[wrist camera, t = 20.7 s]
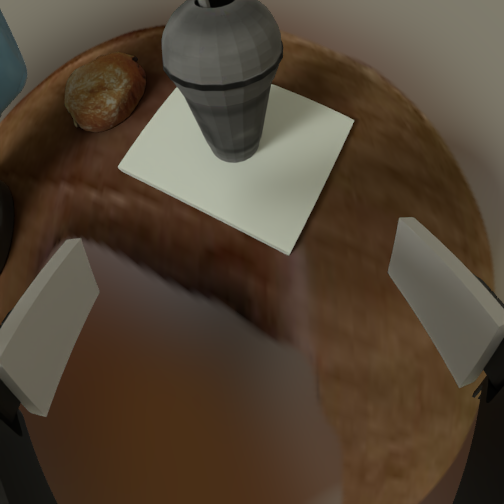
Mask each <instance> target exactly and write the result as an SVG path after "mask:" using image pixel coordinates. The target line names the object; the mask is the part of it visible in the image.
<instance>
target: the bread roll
mask: <svg viewBox="0 0 504 504" xmlns="http://www.w3.org/2000/svg"><path fill="white" fill-rule="evenodd" d="M137 60H138V58H137V57H136V56H131V55H127V54H125V53H120V52H117V53H110V54H108V55H105V56H100V57H98V58H97V59H96V60H95V61H93V62H91V63H89V64H86V65H84V66H82V67H80V68H78V69H76V70H75V71H74V72H73V73H72V74H71V75H70V77H69V79H68V81H67V84H66V88H65V104H64V106H65V107H66V108H67V110H68V112H69V113H70V114H71V115H72V117H73V120H74V125H75V126H76V127H79V126H80V127H81V128H82V129H84V130H86V131H92V132H102V131H106V130H109V129H111V128H113V127H115V126H116V125H118V124H119V123H121V122H123V121H124V120H125V119H126V118H127V117H129V116H130V114H131V113H132V111H133V110H134V109H135V106H136V105H137V104H138V103H139V101H140V99H141V98H142V96H143V94H144V92H145V86H146V79H145V77H146V74H145V70H144V69H143V68H142V66H140V65H139V64H138V63H137Z"/></svg>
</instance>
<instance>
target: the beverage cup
mask: <svg viewBox="0 0 504 504" xmlns="http://www.w3.org/2000/svg"><path fill="white" fill-rule="evenodd" d="M282 58H283V44H282V41H281V34H280V30H279V27H278V25H277V23H276V21H275V19H274V17H273V16H272V14H271V12H270V11H269V10H268V9H267V7H266V6H265V5H263V4H262V3H261V2H260V1H258V0H186V1H185V2H184V3H183V4H182V5H181V6H180V7H178V8H177V9H176V11H174V12H173V14H172V15H171V17H170V19H169V20H168V23H167V25H166V27H165V29H164V32H163V36H162V59H163V70H164V71H165V72H166V74H167V75H168V77H169V78H170V79H171V80H172V81H173V82H174V83H175V85H176V86H177V87H178V89H179V90H180V91H181V93H182V94H183V96H184V97H185V99H186V101H187V103H188V105H189V107H190V109H191V111H192V114H193V116H194V118H195V120H196V122H197V124H198V126H199V128H200V130H201V132H202V134H203V136H204V138H205V140H206V142H207V143H208V145H209V146H210V148H211V150H212V152H213V153H214V155H215V156H216V157H218V158H219V159H220V160H222V161H225V162H229V163H238V162H242V161H245V160H247V159H249V158H251V157H252V156H253V155H254V154H255V153H256V151H257V149H258V147H259V142H260V139H261V137H262V131H263V126H264V120H265V115H266V110H267V104H268V99H269V93H270V88H271V83H272V80H273V79H274V77H275V74H276V71H277V69H278V66H279V63H280V61H281V60H282Z"/></svg>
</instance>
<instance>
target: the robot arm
mask: <svg viewBox="0 0 504 504" xmlns="http://www.w3.org/2000/svg"><path fill="white" fill-rule="evenodd" d="M26 79H27V69H26V65H25V62H24V60H23V57H22V55H21V53H20V50H19V48H18V45H17V43H16V41H15V39H14V37H13V35H12V32H11V30H10V28H9V26H8V24H7V22H6V20H5V18H4V16H3V14H2V12H1V10H0V117H1V113H2V112H3V111H4V110H5V109H6V108H7V106H8V105H9V104H10V103H11V102H12V101H13V100H14V99H15V98H16V96H17V95H18V94H19V93H20V92H21V91H22V89H23V88H24V86H25V83H26ZM13 224H14V206H13V199H12V195H11V192H10V190H9V188H8V186H7V185H6V184H5V183H4V182H3V181H1V180H0V272H1V270H2V268H3V266H4V263H5V261H6V258H7V255H8V251H9V248H10V244H11V239H12V233H13ZM388 274H389V275H390V277H391V278H392V280H393V281H394V283H395V284H396V285H397V287H398V288H399V290H400V291H401V293H402V294H403V296H404V297H405V299H406V300H407V302H408V303H409V305H410V306H411V308H412V309H413V311H414V312H415V314H416V315H417V317H418V319H419V320H420V322H421V323H422V325H423V326H424V328H425V330H426V331H427V333H428V334H429V336H430V338H431V339H432V341H433V343H434V344H435V346H436V348H437V349H438V351H439V353H440V354H441V356H442V358H443V359H444V361H445V363H446V365H447V366H448V368H449V370H450V372H451V374H452V375H453V377H454V379H455V381H456V383H457V384H458V386H459V388H460V387H463V386H465V385H467V384H470V383H472V382H474V381H475V380H476V379H477V378H478V376H479V375H480V373H481V372H482V371H483V370H484V371H485V373H486V375H487V376H486V377H485V379H484V380H483V381H482V382H481V384H480V385H479V386H478V388H477V389H476V390H475V391H474V393H473V396H472V397H474V398H475V396H476V395H477V394H478V393H479V392H480V390H482V391H481V395H480V396H479V398H478V399H480V404H479V410H478V416H477V421H476V426H475V431H474V435H473V439H472V444H471V448H470V452H469V455H468V459H467V463H466V466H465V469H464V473H463V476H462V479H461V482H460V485H459V488H458V491H457V493H456V496H455V499H454V501H453V504H504V304H503V303H502V301H501V300H500V299H499V298H497V296H496V295H495V293H494V292H493V291H491V289H490V288H489V287H488V286H487V285H486V284H485V282H484V281H483V280H481V279H480V278H478V277H477V276H475V275H474V274H472V273H471V272H470V271H469V270H468V269H467V268H466V267H465V265H464V264H463V263H462V262H461V261H460V260H459V259H458V258H457V257H456V256H455V255H454V254H453V253H452V252H451V251H450V250H449V249H447V248H446V247H445V246H444V245H443V244H442V243H441V242H440V241H439V240H438V239H437V238H436V237H435V236H434V235H433V234H432V233H431V232H429V231H428V230H427V229H426V228H425V227H424V226H423V225H422V224H421V223H419V222H418V221H417V220H416V219H415V218H414V217H406V218H399V221H398V227H397V232H396V237H395V242H394V247H393V251H392V256H391V260H390V264H389V269H388ZM98 294H99V289H98V286H97V284H96V281H95V278H94V276H93V273H92V270H91V267H90V264H89V261H88V258H87V255H86V252H85V250H84V246H83V243H82V240H81V238H79V239H70V240H66V241H65V242H64V244H63V245H62V246H61V247H60V248H59V249H58V251H57V252H56V253H55V254H54V255H53V257H52V258H51V259H50V260H49V262H48V263H47V264H46V265H45V267H44V268H43V269H42V270H41V272H40V273H39V274H38V276H37V277H36V278H35V280H34V281H33V282H32V283H31V285H30V286H29V288H28V289H27V290H26V292H25V293H24V294H23V296H22V297H21V299H20V300H19V301H18V303H17V304H16V306H15V307H14V308H13V309H12V310H11V311H10V312H9V313H8V314H7V315H6V317H5V318H4V320H3V321H2V325H0V504H57V502H56V500H55V498H54V496H53V494H52V492H51V490H50V487H49V485H48V483H47V481H46V478H45V476H44V474H43V472H42V469H41V467H40V464H39V461H38V459H37V456H36V454H35V451H34V448H33V445H32V442H31V440H30V436H29V433H28V430H27V427H26V424H25V420H24V417H23V415H22V413H21V411H20V410H19V409H18V408H19V406H20V403H22V404H23V406H24V407H25V408H26V409H27V410H28V411H29V412H30V413H34V414H37V415H41V416H45V417H46V416H47V414H48V411H49V408H50V405H51V402H52V399H53V396H54V394H55V391H56V388H57V386H58V383H59V380H60V378H61V375H62V373H63V370H64V368H65V366H66V363H67V361H68V358H69V356H70V354H71V351H72V349H73V347H74V344H75V342H76V340H77V338H78V335H79V333H80V331H81V329H82V327H83V324H84V322H85V320H86V318H87V316H88V314H89V312H90V310H91V308H92V306H93V304H94V302H95V300H96V298H97V296H98Z"/></svg>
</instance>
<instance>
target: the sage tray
mask: <svg viewBox="0 0 504 504" xmlns="http://www.w3.org/2000/svg"><path fill="white" fill-rule="evenodd" d="M353 123H354V120H353V119H351V118H349V117H347V116H345V115H343V114H341V113H339V112H337V111H334V110H332V109H330V108H328V107H326V106H324V105H322V104H319V103H317V102H315V101H312V100H310V99H308V98H306V97H303V96H301V95H298V94H296V93H293V92H291V91H288V90H286V89H283V88H281V87H278V86H276V85H273V84H271V88H270V93H269V99H268V104H267V110H266V115H265V120H264V126H263V131H262V137H261V139H260V142H259V147H258V149H257V151H256V153H255V154H254V155H253V156H252V157H251V158H249V159H247V160H245V161H242V162H238V163H229V162H225V161H222V160H220V159H219V158H218V157H216V156H215V155H214V153H213V152H212V150H211V148H210V146H209V145H208V143H207V142H206V140H205V138H204V136H203V134H202V132H201V130H200V128H199V126H198V124H197V122H196V120H195V118H194V116H193V114H192V111H191V109H190V107H189V105H188V103H187V101H186V99H185V97H184V96H183V94H182V93H181V91H180V90H179V89H178V87H177V88H176V89H175V90H174V91H173V92H172V94H171V95H170V96H169V97H168V99H167V100H166V101H165V102H164V103H163V105H162V106H161V107H160V109H159V110H158V111H157V112H156V114H155V115H154V116H153V118H152V119H151V120H150V122H149V123H148V124H147V126H146V127H145V128H144V130H143V131H142V132H141V134H140V135H139V137H138V138H137V139H136V141H135V142H134V144H133V145H132V147H131V148H130V149H129V151H128V152H127V154H126V155H125V157H124V158H123V160H122V161H121V163H120V164H119V166H118V168H119V169H120V170H121V171H122V172H124V173H126V174H128V175H130V176H132V177H134V178H136V179H138V180H140V181H142V182H144V183H146V184H148V185H150V186H152V187H154V188H156V189H158V190H160V191H162V192H164V193H166V194H168V195H170V196H172V197H174V198H176V199H178V200H180V201H182V202H184V203H186V204H188V205H190V206H192V207H194V208H196V209H198V210H200V211H202V212H204V213H206V214H208V215H210V216H212V217H214V218H216V219H218V220H220V221H222V222H224V223H226V224H228V225H230V226H232V227H234V228H236V229H238V230H240V231H242V232H244V233H246V234H247V235H249V236H251V237H253V238H255V239H257V240H259V241H261V242H263V243H265V244H267V245H269V246H271V247H273V248H275V249H277V250H279V251H280V252H282V253H284V254H286V255H288V256H289V255H290V253H291V251H292V249H293V247H294V245H295V243H296V241H297V239H298V237H299V235H300V233H301V231H302V229H303V227H304V225H305V223H306V221H307V219H308V217H309V215H310V213H311V211H312V209H313V207H314V205H315V203H316V201H317V199H318V197H319V195H320V193H321V191H322V189H323V186H324V184H325V182H326V180H327V178H328V176H329V174H330V172H331V170H332V168H333V166H334V163H335V161H336V159H337V157H338V155H339V153H340V151H341V149H342V146H343V144H344V142H345V140H346V138H347V136H348V134H349V131H350V129H351V127H352V125H353Z"/></svg>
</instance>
